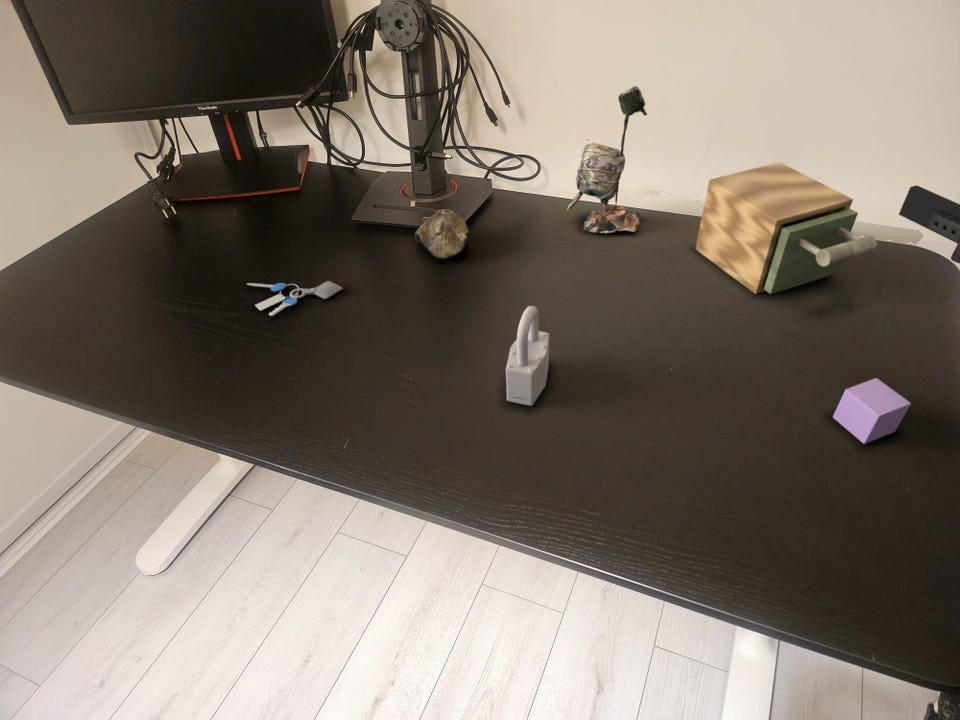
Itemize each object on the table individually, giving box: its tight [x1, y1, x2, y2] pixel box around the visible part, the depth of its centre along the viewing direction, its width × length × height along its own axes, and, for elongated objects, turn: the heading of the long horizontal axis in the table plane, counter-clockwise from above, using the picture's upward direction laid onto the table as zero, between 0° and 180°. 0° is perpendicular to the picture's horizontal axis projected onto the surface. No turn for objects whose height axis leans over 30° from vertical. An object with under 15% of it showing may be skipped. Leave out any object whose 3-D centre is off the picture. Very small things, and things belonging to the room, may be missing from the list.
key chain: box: [246, 280, 343, 317], centre depth 83 cm, size 14×8×1 cm, turn 88°
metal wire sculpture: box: [567, 85, 648, 234], centre depth 89 cm, size 8×11×20 cm
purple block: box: [832, 377, 912, 445], centre depth 60 cm, size 4×4×4 cm
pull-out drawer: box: [764, 208, 878, 295], centre depth 78 cm, size 16×10×9 cm, turn 22°
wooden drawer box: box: [694, 161, 854, 295], centre depth 82 cm, size 13×12×11 cm
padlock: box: [505, 305, 550, 407], centre depth 66 cm, size 7×4×10 cm, turn 161°
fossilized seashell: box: [414, 209, 471, 260], centre depth 91 cm, size 8×7×10 cm
